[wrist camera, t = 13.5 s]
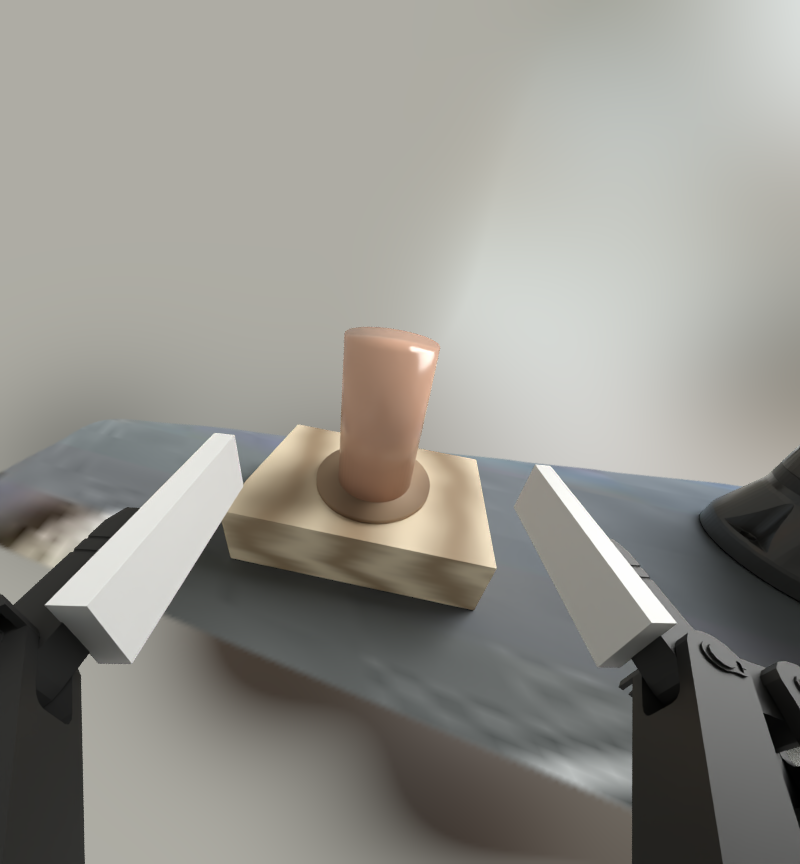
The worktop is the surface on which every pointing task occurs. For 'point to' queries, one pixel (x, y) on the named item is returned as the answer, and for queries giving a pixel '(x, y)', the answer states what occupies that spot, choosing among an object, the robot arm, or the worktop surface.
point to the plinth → (366, 523)
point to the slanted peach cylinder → (383, 409)
